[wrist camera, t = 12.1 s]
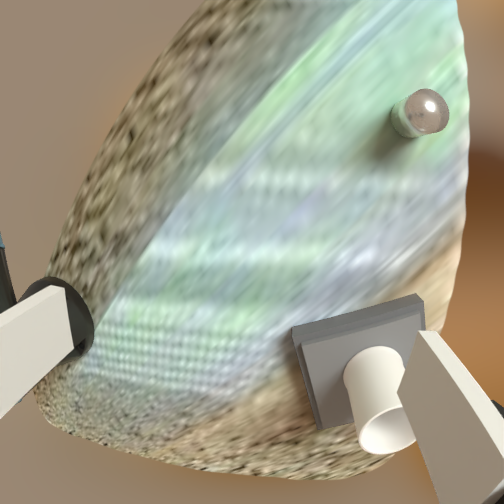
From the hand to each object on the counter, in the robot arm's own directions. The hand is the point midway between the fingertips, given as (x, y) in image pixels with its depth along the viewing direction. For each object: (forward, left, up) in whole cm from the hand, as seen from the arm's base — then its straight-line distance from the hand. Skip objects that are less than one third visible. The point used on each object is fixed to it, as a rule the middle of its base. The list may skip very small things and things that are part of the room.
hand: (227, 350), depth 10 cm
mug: (+8, -24, -27) cm, 37 cm away
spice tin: (+21, +8, -30) cm, 38 cm away
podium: (+8, -24, -30) cm, 39 cm away
